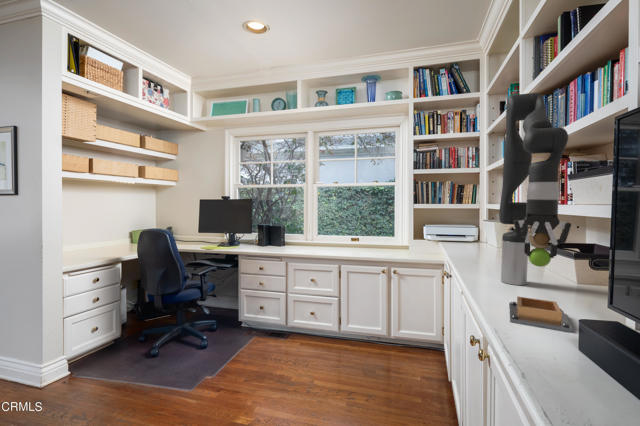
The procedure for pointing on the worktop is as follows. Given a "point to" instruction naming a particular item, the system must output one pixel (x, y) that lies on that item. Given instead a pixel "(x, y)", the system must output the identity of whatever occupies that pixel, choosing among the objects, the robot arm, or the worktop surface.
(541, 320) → the socket plate
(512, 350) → the worktop surface
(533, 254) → the snail figurine
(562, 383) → the worktop surface
